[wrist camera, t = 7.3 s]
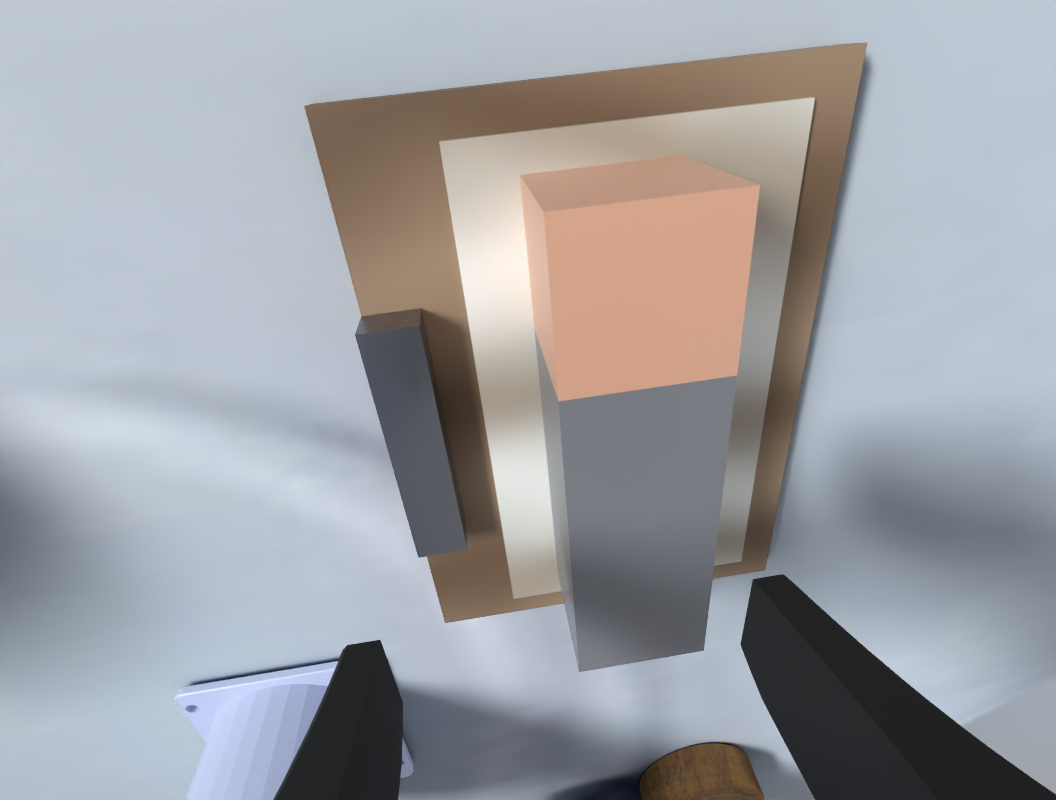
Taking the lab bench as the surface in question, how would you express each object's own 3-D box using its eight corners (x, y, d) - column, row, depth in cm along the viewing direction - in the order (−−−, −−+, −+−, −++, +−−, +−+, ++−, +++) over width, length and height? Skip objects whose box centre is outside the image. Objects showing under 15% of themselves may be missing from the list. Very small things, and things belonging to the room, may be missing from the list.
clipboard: (755, 555, 23) (780, 594, 21) (445, 606, 22) (445, 650, 21) (846, 43, 14) (903, 40, 12) (312, 104, 13) (291, 109, 11)
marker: (660, 576, 21) (700, 672, 18) (559, 593, 21) (580, 693, 18) (681, 155, 13) (760, 185, 10) (519, 174, 13) (543, 212, 10)
